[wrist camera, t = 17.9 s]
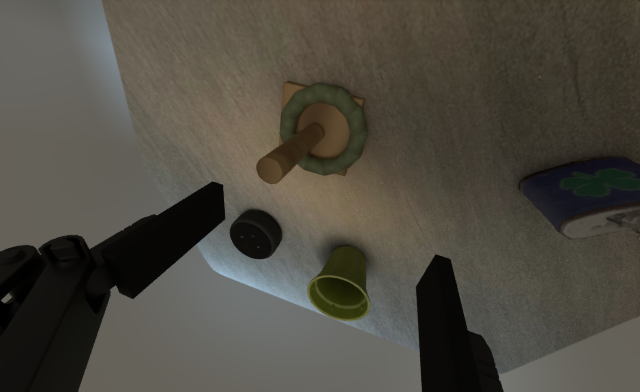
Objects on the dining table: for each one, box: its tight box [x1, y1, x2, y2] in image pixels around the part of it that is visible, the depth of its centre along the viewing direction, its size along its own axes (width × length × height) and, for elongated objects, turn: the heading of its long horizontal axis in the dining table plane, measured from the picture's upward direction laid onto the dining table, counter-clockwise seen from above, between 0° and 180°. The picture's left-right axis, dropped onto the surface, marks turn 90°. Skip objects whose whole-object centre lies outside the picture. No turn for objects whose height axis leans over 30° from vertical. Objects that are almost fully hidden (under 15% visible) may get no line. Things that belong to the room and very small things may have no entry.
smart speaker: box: [230, 211, 281, 259], centre depth 42 cm, size 9×9×4 cm
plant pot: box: [307, 246, 370, 321], centre depth 38 cm, size 9×9×9 cm
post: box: [256, 81, 365, 184], centre depth 25 cm, size 10×10×14 cm
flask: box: [520, 156, 640, 240], centre depth 21 cm, size 9×3×11 cm, turn 115°
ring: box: [280, 83, 368, 176], centre depth 29 cm, size 11×11×2 cm
